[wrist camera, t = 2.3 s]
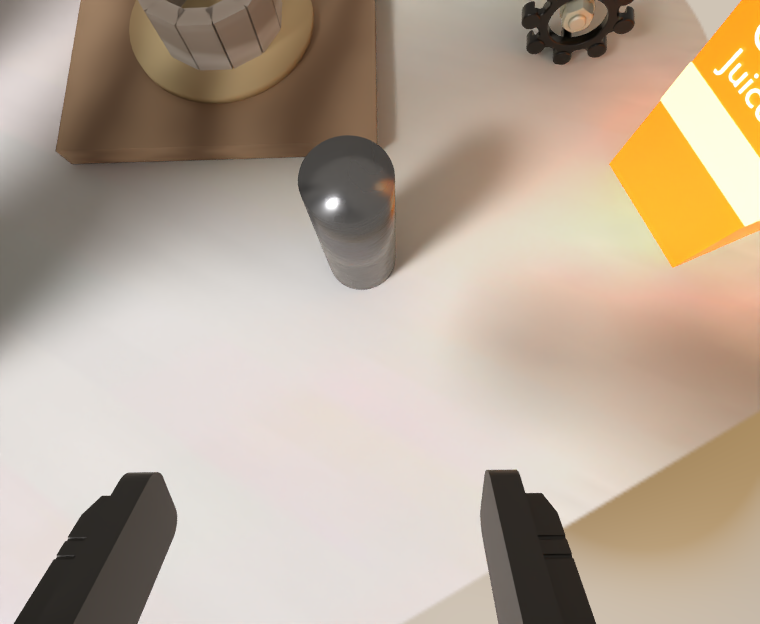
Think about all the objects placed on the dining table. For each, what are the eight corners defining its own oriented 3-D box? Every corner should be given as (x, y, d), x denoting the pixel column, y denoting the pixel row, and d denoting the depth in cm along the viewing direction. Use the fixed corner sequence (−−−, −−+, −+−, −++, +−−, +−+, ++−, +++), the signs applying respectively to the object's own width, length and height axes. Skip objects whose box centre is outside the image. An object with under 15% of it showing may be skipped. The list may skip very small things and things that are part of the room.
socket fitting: (71, 163, 31) (3, 108, 26) (105, -54, 35) (53, -140, 30) (377, 154, 30) (373, 96, 25) (374, -66, 35) (370, -155, 29)
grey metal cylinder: (329, 290, 28) (296, 224, 19) (329, 228, 29) (299, 136, 20) (395, 288, 28) (395, 221, 19) (394, 226, 29) (393, 133, 20)
